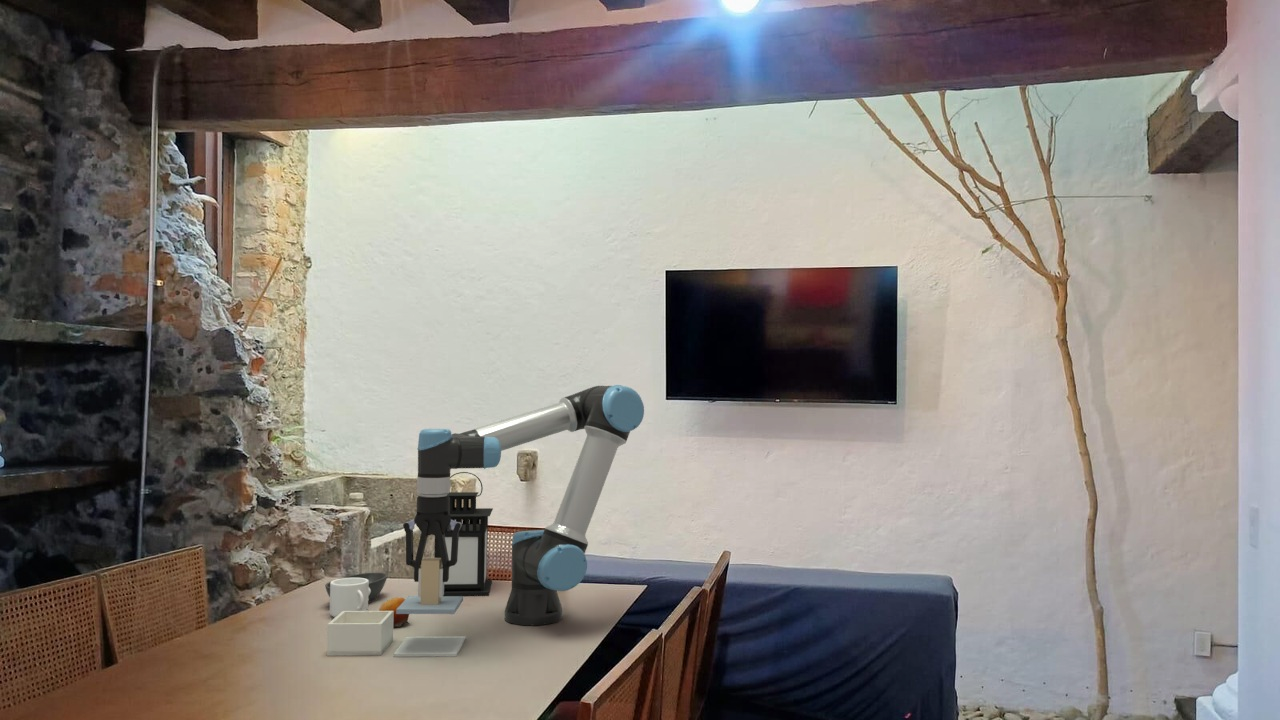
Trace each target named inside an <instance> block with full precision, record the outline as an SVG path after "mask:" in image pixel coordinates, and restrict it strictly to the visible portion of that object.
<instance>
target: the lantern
mask: <svg viewBox="0 0 1280 720" xmlns="http://www.w3.org/2000/svg"><path fill="white" fill-rule="evenodd" d="M459 474H468V475H472V476H474V477H475V478H476V479H477V480H478V482H479V483H480V487H481V489H480V493H479V492H477V491H476V492H475V491H474V492H472V491H471V492H469V491H467V492H465V491H463V492H461V491H460V492H459V491H458V492H457V491H455V492H454V491H453V492H452V491H450V493H448V494H447V495H448V496H449V497H450V511H449V513H450V516H451V519H452V520H454V521H456V522H461V523H462V526H461V528H460V531H459V540H458V557H457V563H456V564H455V565H454V566H450V567H449V579H448V581H447V582H444V595H443V596H463V597H489V596H490V591H491V589H492V584H493V580H492V579H488V544H489V543H488V537H489V536H488V535H489V533H488V532H489V531H488V529H489V527H488V526H489V517H490V516H491V514H492V512H493V510H494V508H491V507H490V508H485V507H483V508H482V507H481V508H480V507H479V508H477V498H478V497H481V495H482V493H483V489H484V488H483V483H482V480H481V479H480V478H479V476H477V475H476V474H474V473H472V472H468V471H461V472H456V473H454V474H452V475H450V479H451V478H453V477H454V476H456V475H459ZM452 533H453V530H451V525H450V524H449V525H448V527H447V528H446V529H445V531H444V534H445V542H446V547H447V553H448V558H449V561H450V560H451V545H452ZM433 555H434V556H433V558H441V555H440V549H439V544H438V540H437V536H435V535H434V554H433Z"/></svg>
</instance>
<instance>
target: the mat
mask: <svg viewBox="0 0 1280 720" xmlns="http://www.w3.org/2000/svg"><path fill="white" fill-rule="evenodd" d="M466 638H467V637H466V636H463V635H461V636H452V635H451V636H449V635H447V636H445V635H444V636H406V637H405V639H404V640H402V642H401V643H400V644H399V646H398V647H397V649H396V650H395V651H394V653H393V658H395V657H399V658H400V657H406V658H407V657H411V658H412V657H416V658H417V657H419V658H420V657H457V656H458V654H459V653H460V650H461V648H462V646H463V645H464V643H465V640H466Z"/></svg>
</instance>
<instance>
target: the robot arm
mask: <svg viewBox="0 0 1280 720" xmlns="http://www.w3.org/2000/svg"><path fill="white" fill-rule="evenodd" d="M644 415H645V405H644V402H643V400H642V397H641V396H640V394H639V393H638V392H637V391H636V390H635V389H633V388H631V387H629V386H626V385H625V386H624V385H620V384H614V385H595V386H591V387H589V388H587V389H584V390H581V391H578V392H576V393H573V394H571V395H568V396H565V397H564V396H563V397H561V398H560V399H559V402H558V403H555V404H554V403H553V404H552V405H548V406H544V407H541V408H538V409H535V410H533V411H532V410H531V411H529V412H525V413H522V414H519V415H516V416H512V417H509V418H506V419H503V420H502V419H501V420H499V421H496V422H493V423H490V424H486V425H483V426H480V427H477V428H473V429H470V430H467V431H464V432H461V433H456V432H455V433H452V431H451V429H449V428H424V429H422V430H420V431H419V433H418V442H417V443H418V445H417V478H416V479H417V481H416V482H417V483H416V493H417V494H418V496H417V497H416V512H415V513H416V514H415V517H414V519H412V520H409V521H406V522H404V523H403V525H402V527H403V530H404V532H405V563H406V565H407V566H411V567H413V570H414V571H413V581H414V582H415V583H418V585H417V586H418V589H417V596H418V597H421V563H422V560H423V559H424V558H423V557H424V553H425V548H426V545H427V540H428V537H429V536H434V537H435V536H437V540H438V544H439V549H440V555H441V560H442V567H441V568H440V569H439V597H442V596H443V595H444V582H447V581H448V579H449V567H450V566H454V565H455V564H456V563H457V557H458V540H459V531H460V528H461V526H462V524H463V522H462V523H461V522H456V520H455V521H454V520H452V519H451V516H450V513H449V511H450V497H449V496H448V495H447V494H448V493H450V492H451V478H450V477H451V470H452V469H454V470H457V469H484V470H485V469H487V468H488V469H489V468H492V469H493V468H495V467H498V466H499V465H500V461H501V457H502V451H505V450H509V449H511V448H515V447H518V446H521V445H524V444H527V443H530V442H533V441H537V440H541V439H543V438H545V437H549V436H552V435H554V434H558V433H560V432H561V433H562V432H564V431H568V432H571V433H573V432H576V431H579V430H585V434H586V438H585V441H584V442H583V445H582V448H581V450H580V453H579V455H578V458H577V461H576V464H575V466H574V469H573V471H572V474H571V477H570V479H569V482H568V484H567V486H566V490H565V492H564V495H563V497H562V500H561V503H560V506H559V508H558V510H557V513H556V515H555V518H554V521H553V523H551V524H550V525H547V526H546V527H545V528H544V529H535V530H523V531H521V530H520V531H516V532H514V533H513V535H512V542H511V590H510V593H509V596H508V600H507V602H506V605H505V609H504V621H506V622H507V623H511V624H513V625H519V626H522V625H523V626H541V625H543V626H544V625H548V624H550V625H551V624H554V623H556V622H559V621H561V620H562V619H563V607H562V604H561V600H560V597H559V594H558V592H564V591H565V592H567V591H569V590H571V589H573V588H576V586H578V585H579V584H580V583H581V582H582V581H583V580H584V577H585V575H586V573H587V569H588V560H587V558H586V552H587V551H586V550H587V549H588V546H589V541H588V539H587V537H586V534H587V531H588V528H589V525H590V523H591V520H592V518H593V515H594V512H595V510H596V507H597V504H598V501H599V499H600V497H601V494H602V490H603V488H604V486H605V484H606V480H607V477H608V475H609V472H610V469H611V466H612V464H613V462H614V458H615V456H616V453H617V450H618V448H619V447H621V446H623V445H625V444H626V443H627V441H628V438H629V436H630V433H631V431H634V430H636V429H637V428H638V427H639V426H640V425H641V424H642V422H643V420H644ZM449 524H450V525H451V530H453V533H452V545H451V560H450V561H449V558H448V553H447V547H446V542H445V534H444V531H445V529H446V528H447V527H448V525H449ZM415 525H416V527H417V528H418V530H419V531H420V535H419V536H420V537H419V542H418V547H417V550H416V554H415V555H416V556H415V559H414V530H415Z"/></svg>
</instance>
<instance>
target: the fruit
mask: <svg viewBox="0 0 1280 720" xmlns="http://www.w3.org/2000/svg"><path fill="white" fill-rule="evenodd" d="M405 599H406V598H404V597H398V596H397V597H392V598H391V599H388V600H386V601H384V602H383V603H382V604H381V605H380V608H378V609H379V610H378V611H394V620H393V628H395V627H399V628H401V627H402V624H409V625H410V623H409V621H408V620H409V616H410V614H396V609H397V608H398V607H399V606H400V605H401V604H402V603H403V602H404V601H405Z"/></svg>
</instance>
